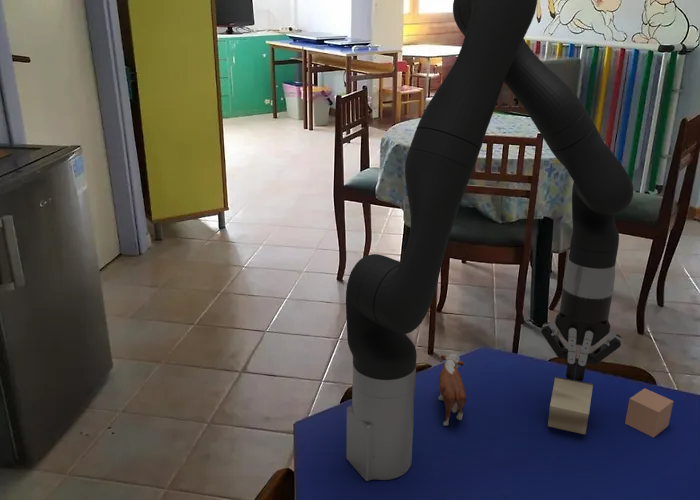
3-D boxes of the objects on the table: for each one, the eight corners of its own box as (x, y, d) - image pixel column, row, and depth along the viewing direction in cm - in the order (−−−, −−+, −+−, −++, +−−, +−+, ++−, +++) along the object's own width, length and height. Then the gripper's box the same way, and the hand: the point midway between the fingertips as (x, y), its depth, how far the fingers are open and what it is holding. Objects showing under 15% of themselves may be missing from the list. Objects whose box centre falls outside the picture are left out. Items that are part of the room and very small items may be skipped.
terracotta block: (653, 438, 110) (658, 412, 108) (624, 423, 114) (629, 398, 112) (668, 426, 113) (673, 401, 111) (639, 412, 117) (644, 388, 115)
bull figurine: (460, 388, 123) (463, 349, 121) (465, 432, 111) (468, 390, 108) (436, 386, 124) (439, 347, 121) (438, 431, 111) (441, 388, 108)
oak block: (589, 404, 115) (585, 434, 111) (553, 396, 117) (547, 426, 113) (593, 383, 111) (588, 414, 107) (555, 376, 113) (549, 405, 109)
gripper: (632, 284, 108) (616, 378, 114) (547, 272, 113) (536, 362, 119) (632, 303, 101) (615, 401, 108) (542, 289, 106) (530, 384, 112)
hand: (573, 381), depth 113 cm, fingers closed
